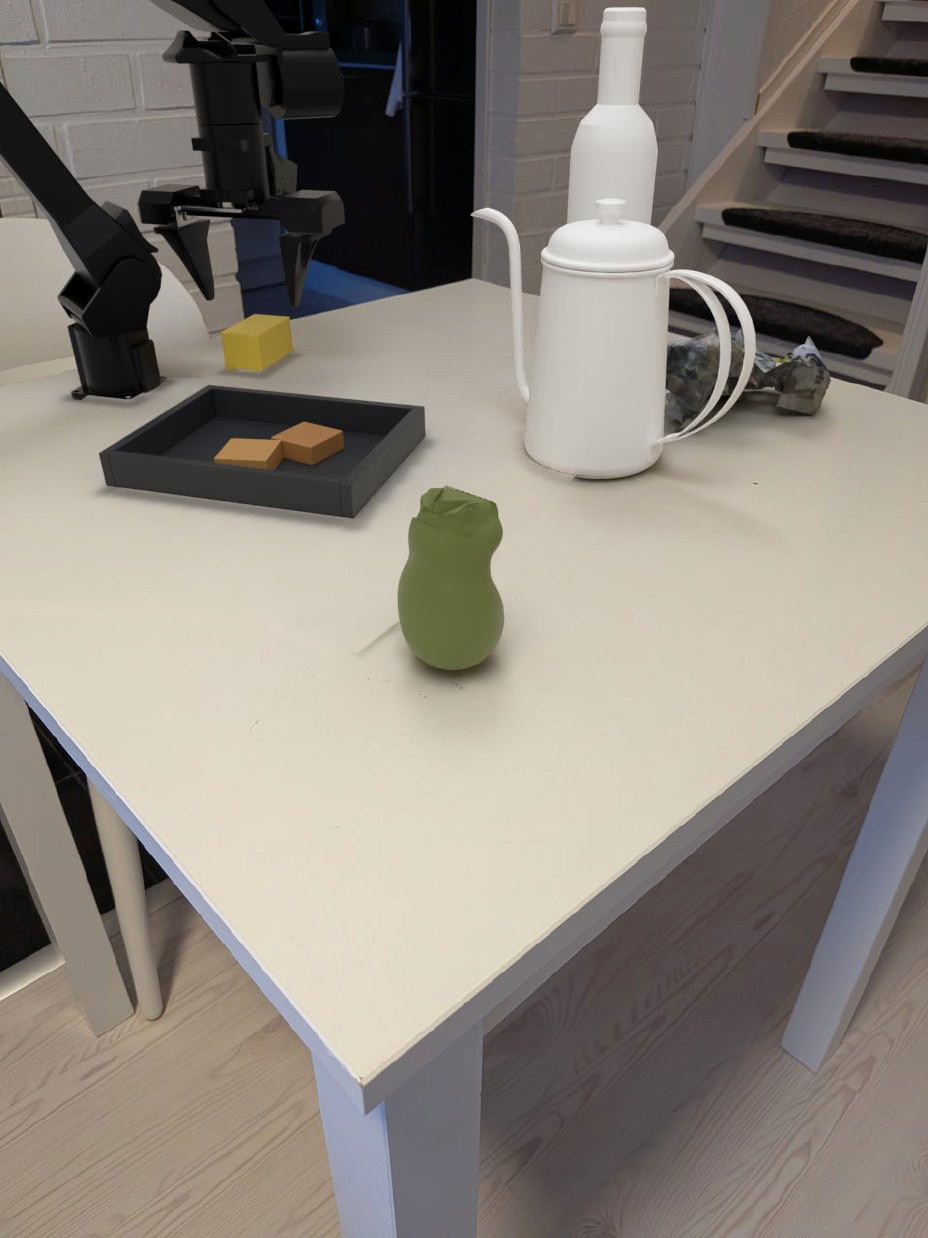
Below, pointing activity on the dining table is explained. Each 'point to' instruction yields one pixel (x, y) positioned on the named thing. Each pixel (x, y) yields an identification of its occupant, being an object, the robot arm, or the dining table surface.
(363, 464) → the pan
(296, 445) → the block
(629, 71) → the bottle
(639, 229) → the coffeepot
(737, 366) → the foil
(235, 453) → the block
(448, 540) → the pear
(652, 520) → the dining table surface
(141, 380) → the robot arm
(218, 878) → the dining table surface
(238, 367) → the sponge
